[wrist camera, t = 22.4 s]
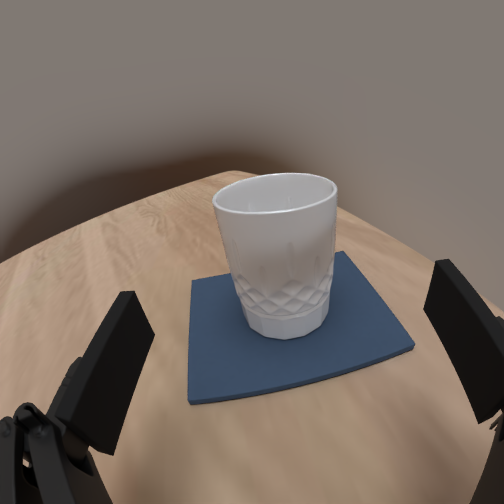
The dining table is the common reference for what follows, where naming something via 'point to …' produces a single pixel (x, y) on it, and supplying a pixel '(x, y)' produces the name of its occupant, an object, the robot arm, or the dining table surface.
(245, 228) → the white cup
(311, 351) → the glassware mat
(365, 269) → the dining table surface
